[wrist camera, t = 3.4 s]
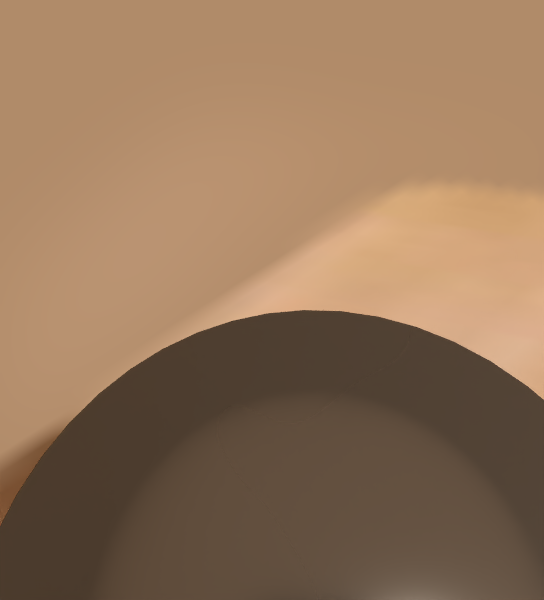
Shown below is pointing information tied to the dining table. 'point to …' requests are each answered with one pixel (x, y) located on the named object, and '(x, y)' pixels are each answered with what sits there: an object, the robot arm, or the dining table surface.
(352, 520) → the peg
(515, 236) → the dining table surface
